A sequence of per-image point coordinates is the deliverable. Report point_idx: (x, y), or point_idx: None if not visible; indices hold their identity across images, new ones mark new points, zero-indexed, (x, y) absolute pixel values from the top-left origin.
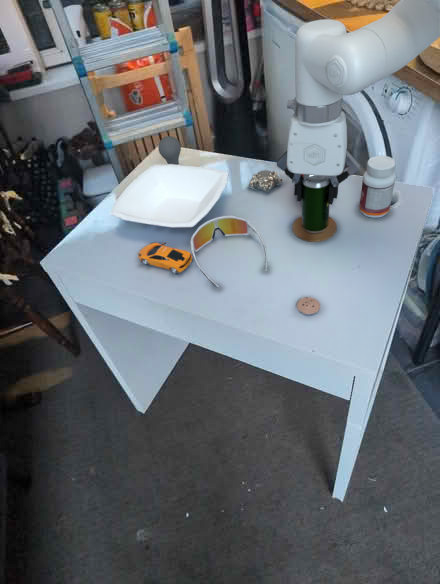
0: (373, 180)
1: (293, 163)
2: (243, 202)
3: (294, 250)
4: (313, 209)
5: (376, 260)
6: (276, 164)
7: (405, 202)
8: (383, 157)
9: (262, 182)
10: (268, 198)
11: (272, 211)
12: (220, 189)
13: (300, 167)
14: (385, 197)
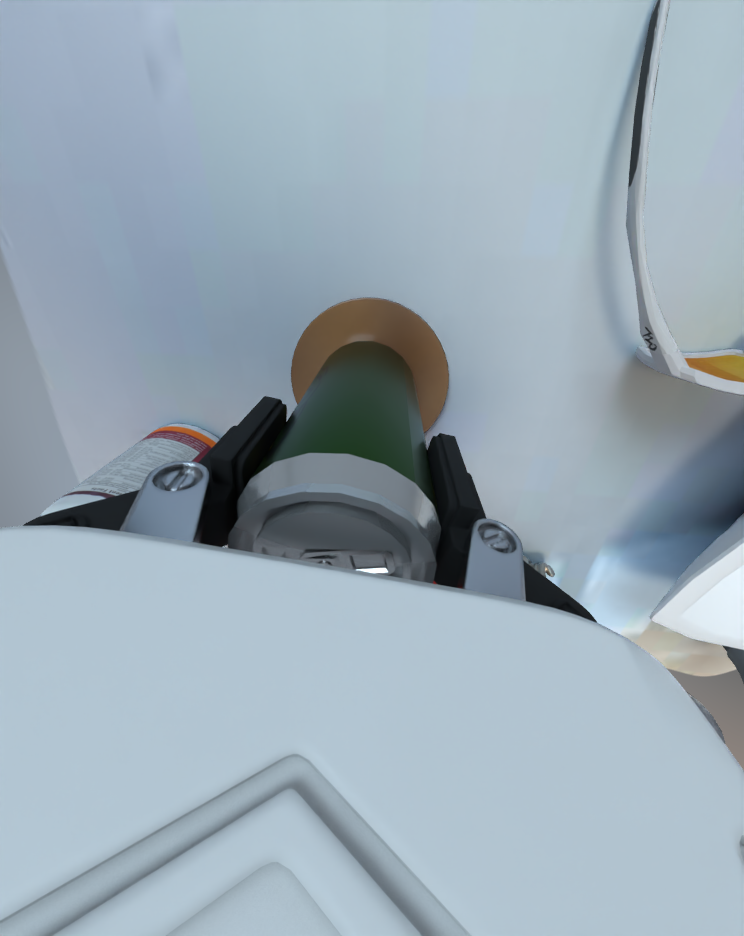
0: None
1: (713, 838)
2: (579, 516)
3: (457, 234)
4: (366, 377)
5: (91, 140)
6: (713, 719)
7: None
8: None
9: None
10: None
11: (499, 474)
12: (741, 556)
13: (549, 719)
14: (103, 467)
